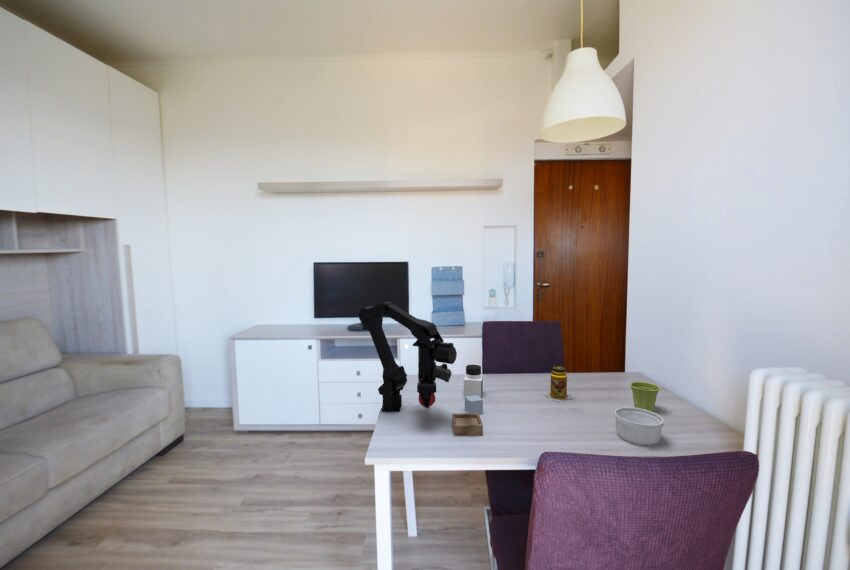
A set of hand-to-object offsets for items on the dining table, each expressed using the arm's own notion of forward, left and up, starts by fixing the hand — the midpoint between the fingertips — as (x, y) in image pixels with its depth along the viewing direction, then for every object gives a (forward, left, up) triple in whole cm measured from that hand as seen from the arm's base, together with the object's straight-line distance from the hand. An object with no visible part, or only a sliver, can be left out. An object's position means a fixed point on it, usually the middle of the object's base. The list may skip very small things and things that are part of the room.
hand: (426, 403), depth 131 cm
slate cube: (+17, +5, -5) cm, 18 cm away
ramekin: (+65, -15, -5) cm, 67 cm away
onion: (0, 0, -2) cm, 2 cm away
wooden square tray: (+13, -9, -5) cm, 17 cm away
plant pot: (+79, +6, -5) cm, 79 cm away
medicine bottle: (+19, +22, -5) cm, 30 cm away
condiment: (+52, +19, -5) cm, 56 cm away
